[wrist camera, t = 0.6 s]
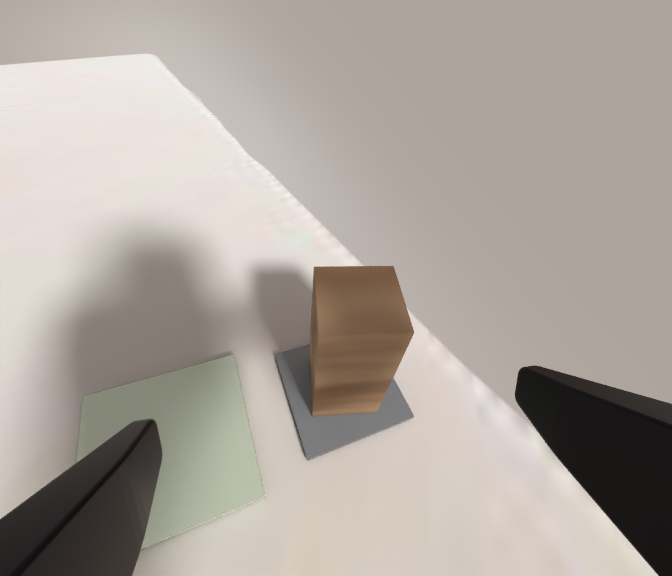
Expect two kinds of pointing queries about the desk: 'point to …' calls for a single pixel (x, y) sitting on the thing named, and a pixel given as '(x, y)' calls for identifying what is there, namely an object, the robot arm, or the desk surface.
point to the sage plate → (184, 442)
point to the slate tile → (333, 429)
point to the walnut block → (355, 337)
